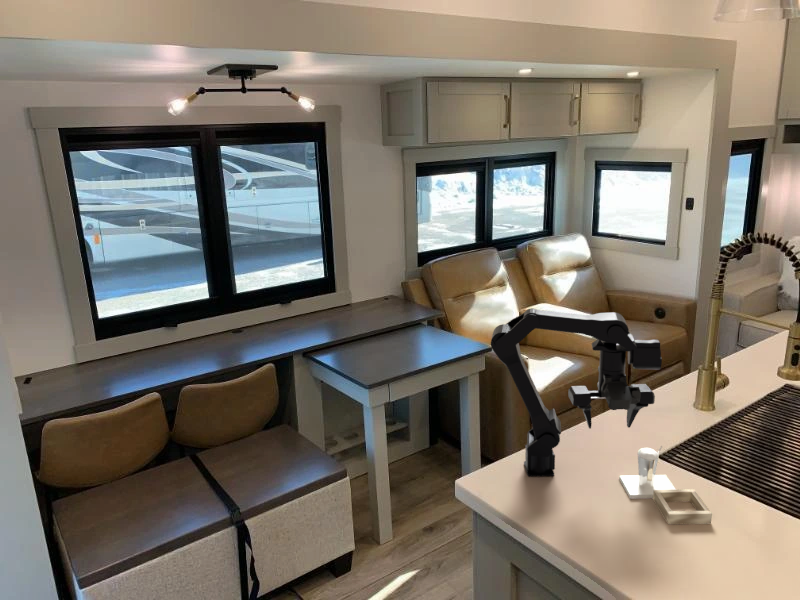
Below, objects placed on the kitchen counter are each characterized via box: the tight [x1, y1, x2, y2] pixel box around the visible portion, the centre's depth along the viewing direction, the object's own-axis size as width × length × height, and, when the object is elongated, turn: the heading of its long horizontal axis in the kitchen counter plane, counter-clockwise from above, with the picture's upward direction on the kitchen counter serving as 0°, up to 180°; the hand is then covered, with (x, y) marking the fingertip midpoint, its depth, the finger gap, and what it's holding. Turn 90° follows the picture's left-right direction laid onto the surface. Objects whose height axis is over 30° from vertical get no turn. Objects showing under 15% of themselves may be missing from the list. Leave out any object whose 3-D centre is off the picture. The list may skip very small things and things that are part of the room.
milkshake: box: [637, 445, 663, 488], centre depth 142 cm, size 4×5×10 cm
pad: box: [618, 474, 677, 500], centre depth 143 cm, size 11×8×1 cm
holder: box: [652, 488, 713, 525], centre depth 134 cm, size 9×9×2 cm
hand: (609, 427), depth 146 cm, fingers open, 9 cm apart
